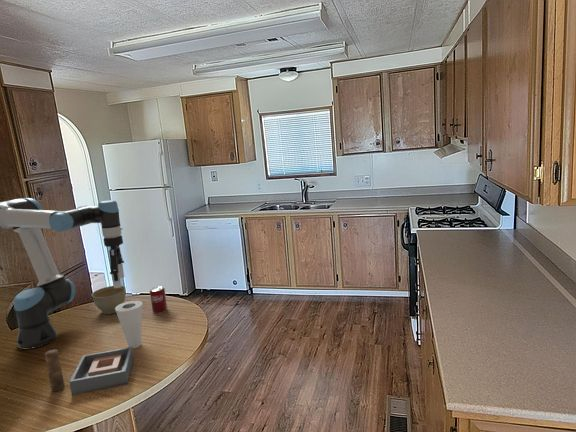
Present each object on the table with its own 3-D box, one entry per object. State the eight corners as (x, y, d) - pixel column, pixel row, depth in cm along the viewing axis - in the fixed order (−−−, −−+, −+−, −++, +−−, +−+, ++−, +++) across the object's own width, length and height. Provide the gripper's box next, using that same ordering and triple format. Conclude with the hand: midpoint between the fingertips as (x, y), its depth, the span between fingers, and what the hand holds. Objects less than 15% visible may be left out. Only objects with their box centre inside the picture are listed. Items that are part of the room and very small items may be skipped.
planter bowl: (101, 306, 213) (98, 287, 211) (131, 302, 214) (129, 284, 212) (89, 318, 197) (86, 298, 195) (123, 315, 199) (119, 295, 197)
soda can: (162, 314, 197) (159, 291, 194) (149, 313, 198) (146, 291, 196) (169, 308, 204) (167, 286, 201) (157, 307, 205) (154, 286, 203)
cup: (122, 354, 160) (116, 313, 156) (120, 343, 169) (114, 304, 166) (149, 347, 164) (144, 306, 161) (146, 336, 174) (140, 298, 170)
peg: (50, 393, 137) (42, 356, 134) (53, 386, 141) (46, 350, 138) (62, 390, 138) (55, 354, 135) (66, 384, 142) (59, 348, 139)
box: (71, 394, 135) (69, 381, 134) (85, 367, 152) (82, 355, 151) (127, 384, 139) (125, 371, 138) (134, 358, 156) (132, 346, 155)
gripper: (118, 241, 160) (125, 290, 164) (124, 229, 183) (130, 272, 187) (98, 243, 158) (106, 293, 162) (107, 231, 181) (113, 275, 185)
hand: (119, 282), depth 174 cm, fingers open, 13 cm apart
